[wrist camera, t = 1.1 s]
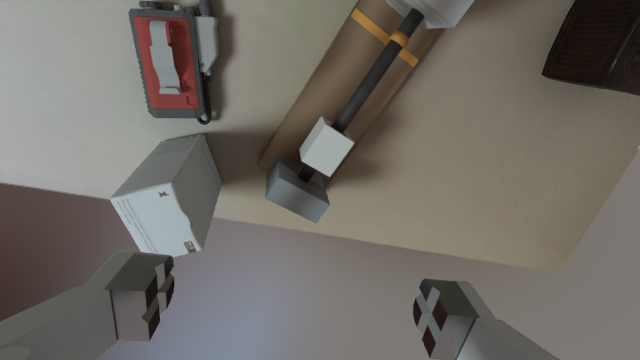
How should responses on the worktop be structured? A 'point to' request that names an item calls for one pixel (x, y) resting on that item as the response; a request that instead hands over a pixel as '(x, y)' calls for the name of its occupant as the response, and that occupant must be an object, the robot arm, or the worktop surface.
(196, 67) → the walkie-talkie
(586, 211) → the worktop surface
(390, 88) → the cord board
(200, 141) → the skincare box
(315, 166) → the sleeve
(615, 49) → the manual coffee grinder
